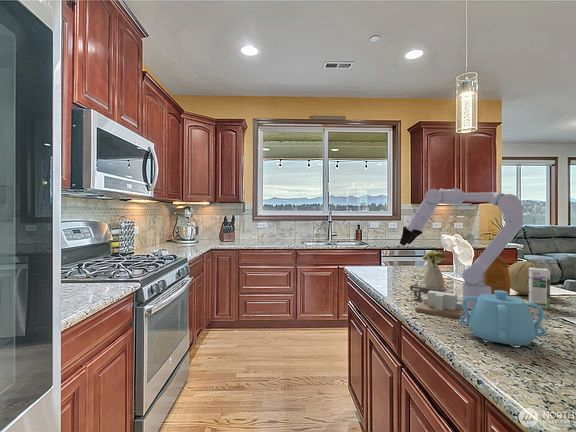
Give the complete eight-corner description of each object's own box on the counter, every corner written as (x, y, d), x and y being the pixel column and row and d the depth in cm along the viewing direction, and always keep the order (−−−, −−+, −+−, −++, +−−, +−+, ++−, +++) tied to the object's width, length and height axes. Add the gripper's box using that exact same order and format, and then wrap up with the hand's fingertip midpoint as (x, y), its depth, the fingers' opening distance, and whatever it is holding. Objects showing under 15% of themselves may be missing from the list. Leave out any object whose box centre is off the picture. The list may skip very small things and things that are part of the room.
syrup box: (531, 306, 124) (531, 268, 124) (528, 303, 129) (528, 266, 129) (550, 309, 122) (550, 270, 121) (546, 305, 127) (546, 267, 127)
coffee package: (510, 299, 135) (510, 246, 135) (510, 306, 125) (511, 248, 125) (482, 295, 141) (482, 244, 141) (480, 302, 130) (480, 247, 130)
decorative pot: (504, 328, 101) (504, 284, 101) (553, 349, 85) (553, 297, 85) (455, 330, 99) (455, 285, 99) (496, 353, 83) (496, 299, 83)
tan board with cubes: (461, 318, 109) (462, 300, 109) (415, 310, 118) (415, 293, 118) (466, 310, 119) (467, 293, 119) (423, 303, 128) (423, 287, 128)
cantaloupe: (498, 292, 147) (498, 259, 147) (518, 289, 153) (518, 257, 153) (534, 300, 133) (534, 263, 133) (554, 297, 140) (555, 261, 140)
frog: (441, 296, 139) (441, 253, 139) (414, 290, 150) (414, 250, 150) (456, 293, 146) (456, 251, 146) (429, 287, 156) (430, 249, 156)
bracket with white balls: (441, 303, 128) (441, 290, 128) (409, 298, 135) (409, 286, 135) (445, 299, 135) (445, 287, 135) (414, 294, 142) (414, 283, 142)
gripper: (417, 211, 142) (401, 237, 146) (408, 211, 130) (390, 239, 134) (432, 219, 138) (415, 246, 142) (424, 220, 126) (405, 249, 130)
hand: (404, 243), depth 138 cm, fingers open, 7 cm apart
